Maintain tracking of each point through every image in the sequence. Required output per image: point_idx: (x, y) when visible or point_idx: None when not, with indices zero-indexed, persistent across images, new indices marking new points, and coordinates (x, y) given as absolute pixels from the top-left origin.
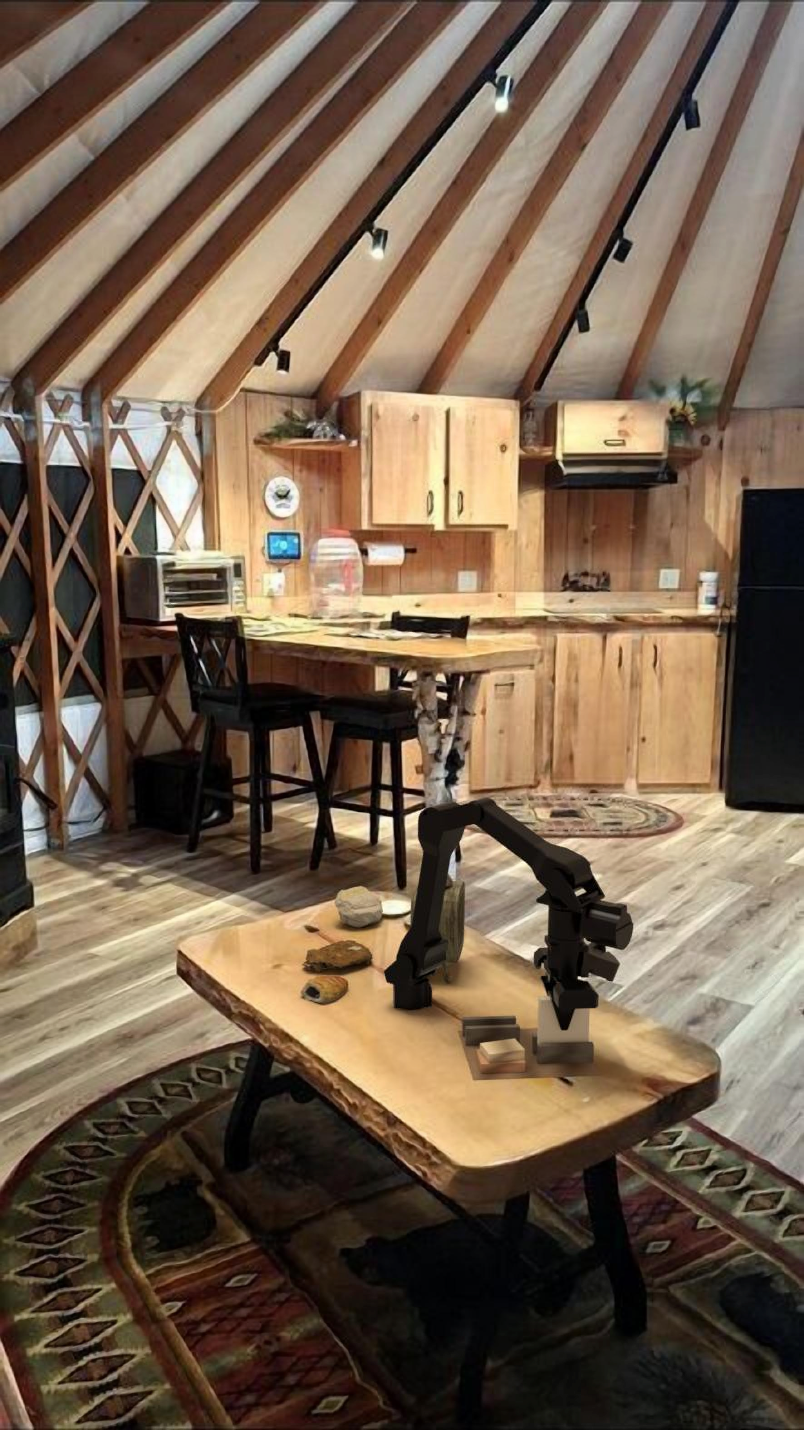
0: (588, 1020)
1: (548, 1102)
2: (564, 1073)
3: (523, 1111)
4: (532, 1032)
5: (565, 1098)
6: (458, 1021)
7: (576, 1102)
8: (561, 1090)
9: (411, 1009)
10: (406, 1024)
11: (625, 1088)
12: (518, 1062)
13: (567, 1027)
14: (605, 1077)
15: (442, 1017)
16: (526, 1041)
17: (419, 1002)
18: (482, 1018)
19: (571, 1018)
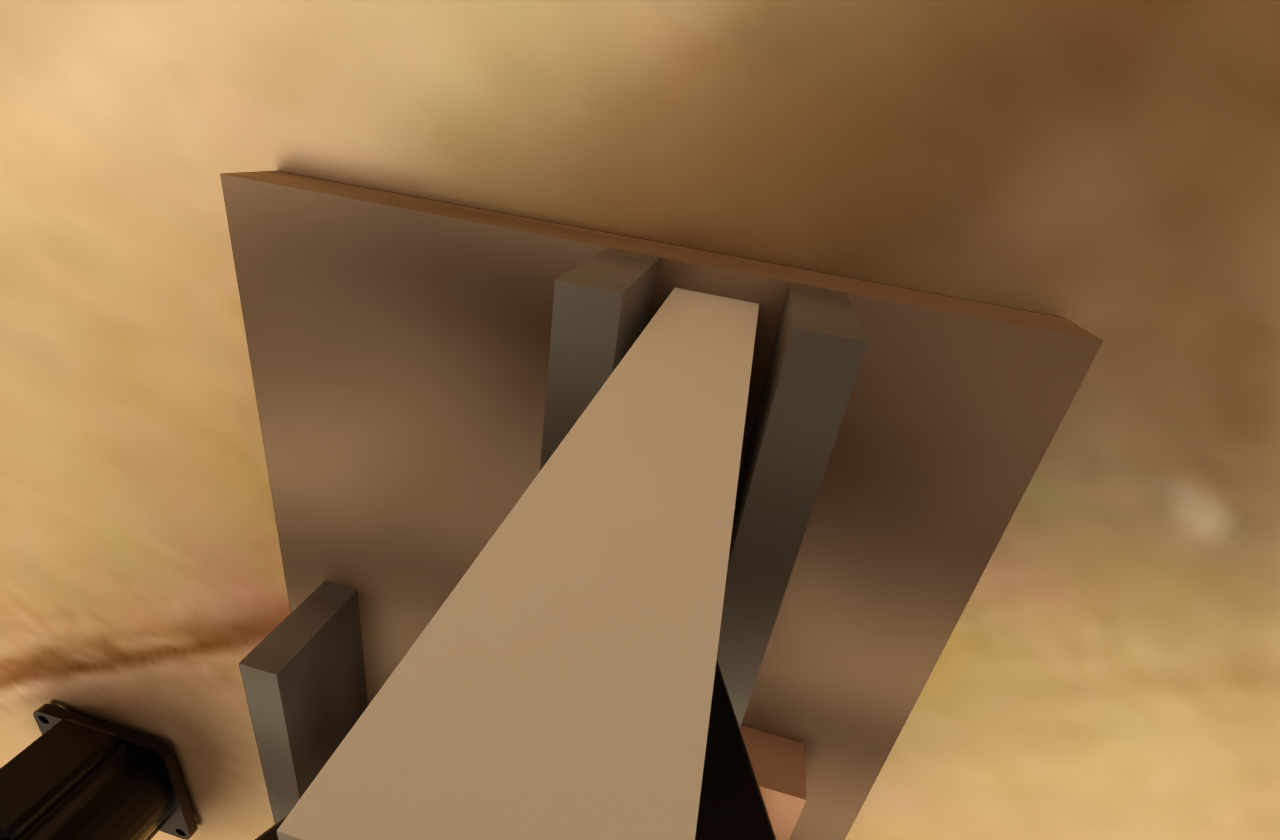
0: (734, 482)
1: (1089, 707)
2: (926, 575)
3: (1102, 832)
4: (322, 492)
5: (1104, 614)
6: (181, 668)
7: (1196, 583)
8: (995, 589)
9: (147, 823)
10: (232, 814)
11: (1255, 123)
12: (790, 826)
13: (720, 690)
14: (973, 219)
15: (155, 700)
16: (440, 577)
17: (105, 827)
18: None
19: (765, 816)
